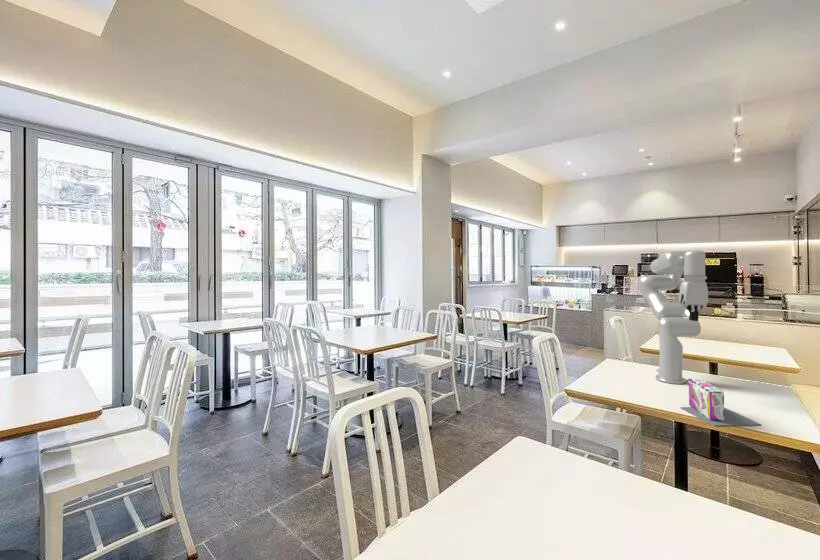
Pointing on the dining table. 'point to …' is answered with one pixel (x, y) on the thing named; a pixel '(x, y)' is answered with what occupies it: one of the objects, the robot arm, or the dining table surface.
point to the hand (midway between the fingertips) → (693, 320)
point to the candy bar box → (706, 399)
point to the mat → (729, 418)
